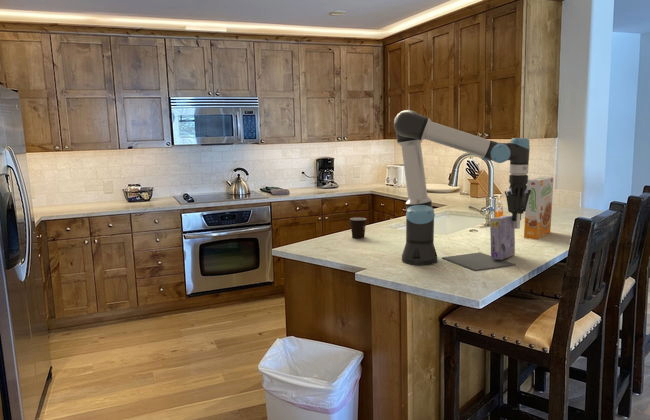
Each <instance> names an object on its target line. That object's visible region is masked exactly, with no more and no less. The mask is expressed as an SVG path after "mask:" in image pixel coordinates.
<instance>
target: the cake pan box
mask: <svg viewBox="0 0 650 420" xmlns="http://www.w3.org/2000/svg"><path fill="white" fill-rule="evenodd" d="M489 220H490V221H489V224H490V225H489V228H490V231H489V232H490V233H489V235H490V256H491V259H495V260H505V259H507V258H510V257H512V256H515V255H516V248H515V247H516V241H515V240H516V239H515V238H516V237H515V233H516V232H515V230H516V229H515V228H513V221H512V215H504V216H499V217H498V216H497V217H494V218H489Z"/></svg>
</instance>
